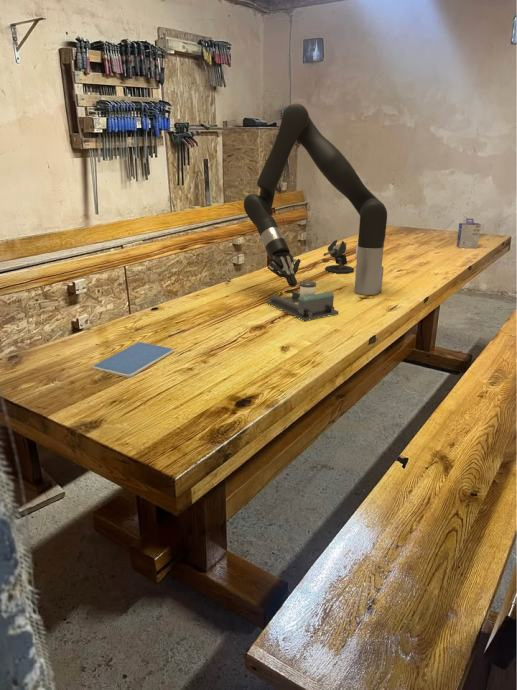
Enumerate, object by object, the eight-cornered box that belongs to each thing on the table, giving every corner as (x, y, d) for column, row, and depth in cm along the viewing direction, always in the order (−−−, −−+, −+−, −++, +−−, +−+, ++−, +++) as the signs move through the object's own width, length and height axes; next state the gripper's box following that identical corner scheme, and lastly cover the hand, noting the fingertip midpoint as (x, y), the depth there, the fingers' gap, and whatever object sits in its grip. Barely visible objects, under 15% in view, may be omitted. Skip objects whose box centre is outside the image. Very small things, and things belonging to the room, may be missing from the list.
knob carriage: (309, 303, 184) (311, 279, 180) (320, 308, 179) (322, 283, 176) (293, 306, 180) (293, 282, 177) (303, 311, 175) (304, 286, 172)
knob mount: (299, 297, 194) (299, 279, 192) (338, 314, 177) (339, 294, 175) (266, 303, 188) (266, 285, 185) (303, 321, 170) (304, 301, 168)
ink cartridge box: (474, 246, 284) (478, 218, 279) (478, 248, 279) (482, 219, 273) (455, 246, 284) (459, 218, 279) (459, 248, 279) (463, 219, 273)
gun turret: (312, 274, 226) (313, 243, 221) (333, 265, 241) (335, 236, 236) (339, 279, 219) (341, 247, 215) (359, 269, 235) (362, 239, 230)
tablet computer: (130, 380, 131) (129, 375, 130) (90, 370, 136) (89, 365, 136) (176, 353, 147) (175, 348, 146) (139, 345, 152) (138, 340, 152)
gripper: (262, 239, 182) (282, 282, 177) (294, 235, 189) (314, 277, 184) (254, 251, 188) (273, 294, 183) (285, 247, 195) (304, 288, 190)
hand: (294, 285), depth 183 cm, fingers closed
